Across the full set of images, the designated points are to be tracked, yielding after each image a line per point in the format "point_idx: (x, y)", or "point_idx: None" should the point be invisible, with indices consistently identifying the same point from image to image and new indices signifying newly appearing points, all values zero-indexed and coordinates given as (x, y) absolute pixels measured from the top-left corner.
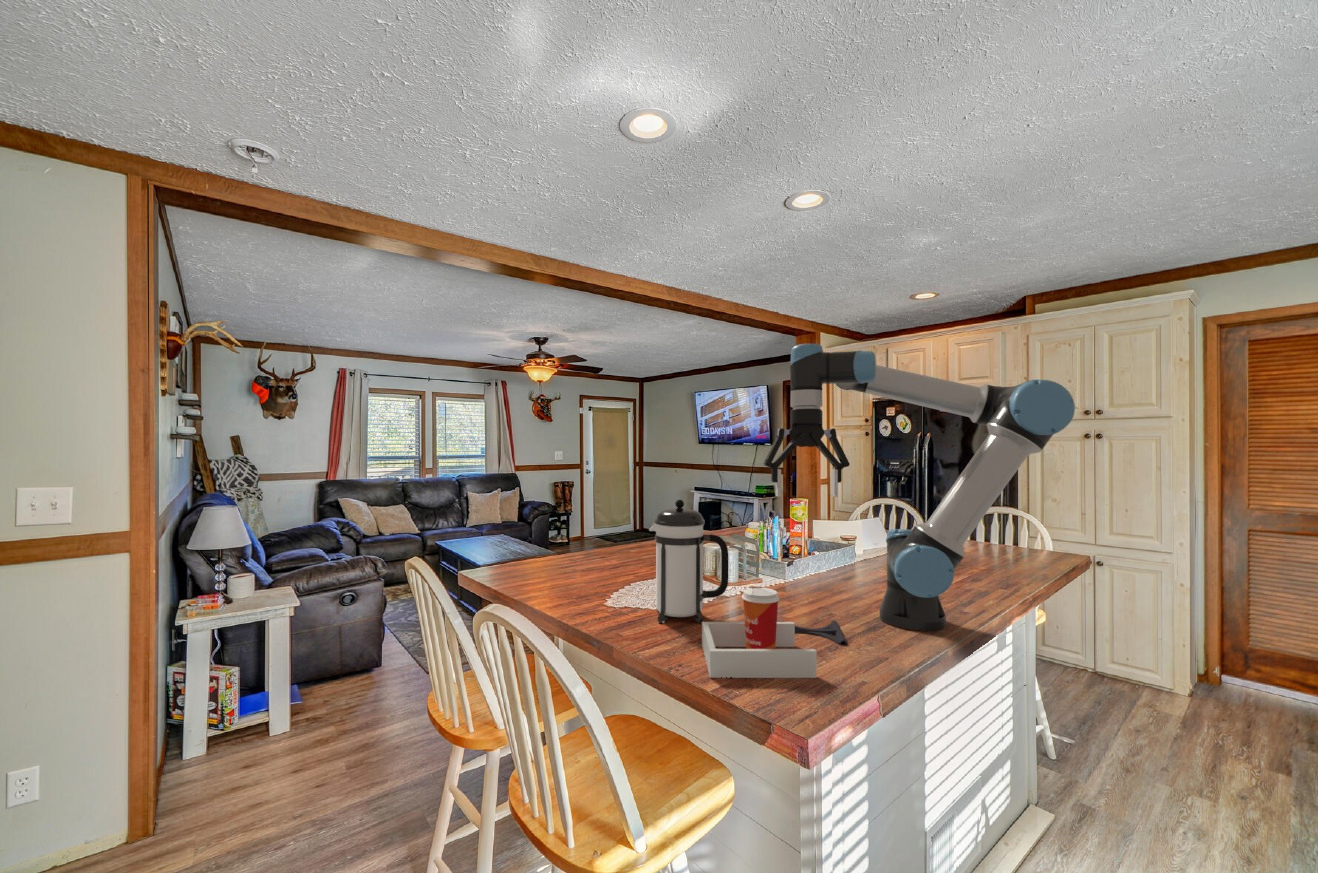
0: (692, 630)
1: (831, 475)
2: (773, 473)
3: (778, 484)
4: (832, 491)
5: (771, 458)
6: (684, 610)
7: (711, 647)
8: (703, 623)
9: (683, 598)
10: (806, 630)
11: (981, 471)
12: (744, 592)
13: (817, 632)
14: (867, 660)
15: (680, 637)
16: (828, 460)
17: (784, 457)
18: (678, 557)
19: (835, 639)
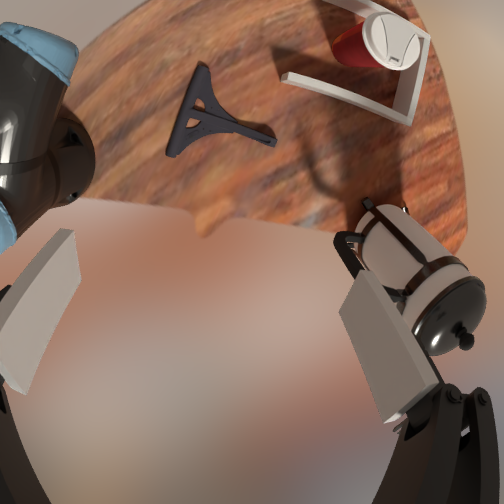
0: (384, 174)
1: (35, 356)
2: (433, 368)
3: (398, 312)
4: (67, 275)
5: (484, 431)
6: (392, 206)
7: (427, 43)
8: (411, 119)
9: (402, 213)
10: (234, 123)
11: None
12: (419, 50)
13: (219, 115)
14: (203, 14)
15: (405, 154)
16: (22, 451)
17: (436, 468)
18: (442, 246)
19: (206, 84)
